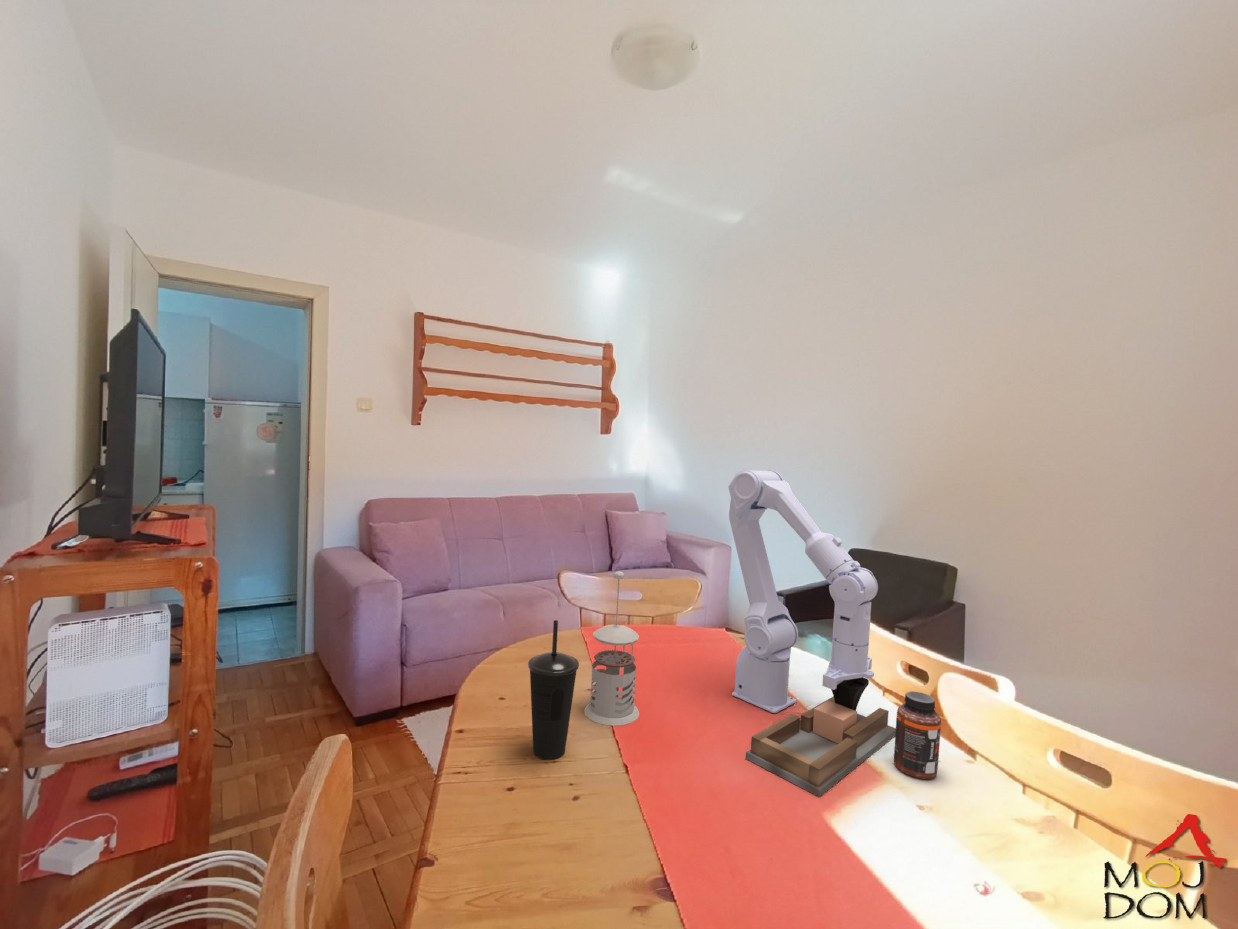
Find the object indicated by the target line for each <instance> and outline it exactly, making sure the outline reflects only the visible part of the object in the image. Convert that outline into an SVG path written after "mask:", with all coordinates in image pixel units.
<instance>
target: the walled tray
mask: <svg viewBox="0 0 1238 929" xmlns="http://www.w3.org/2000/svg"><path fill="white" fill-rule="evenodd" d="M828 700H829V701H831V702H834V703H835V700H834V696H833V695H832V696H831V697H830V698H828V699H826V700H824V701H822V702H821V703H819V704H818V705H816V706H814V707H812V708H810V709H808V710H807V711H805V712H803V713H802V714H801V715H800V716H797V715H795V714H793V713H791V714H789V715H787V716H786V717H784V718H782V719H781V720H779V721H777V722H775V723H773V724H772V725H770V726H768V727H766V728H764V729H763V730H761V731H759V732H757V733H756V734H754V735H751V740H750V741H751V742H750V749H749V750H747V751H746V752H745V759H746V760H747V761H750V762H751V763H753V764H755V765H756V766H759V767H761V768H763V769H764V770H766V771H768V772H771V773H772V774H775V775H776V776H778V777H780V778H782V779H784V780H785V781H788V782H790V783H791V784H793V785H796V786H797V787H799V788H801V789H803V790H805V791H807V792H809V793H811V794H812V795H814V796H816V797H817V798H820V797H822V796H823V795H824V794H825V793H827V792H828V791H829V790H830V789H832V787H834V786H835V785H836V784H838V783H839V782H840V781H841V780H843V779H844V778H845V777H846V776H847V775H848V774H850V773H851V772H852V771H853V770H855V769H856V768H858V767H859V766H860V765H861V764H862V763H864V762H865V761H867V759H868V758H870V757H872V755H874V754H875V753H876V752H877V751H878V750H880V749H881V748H883V747H884V746H885V745H886V744H888V743H889V742H890V741H891V740H892V739H893V738H895V733H896V727H894V726H891V725H888V724H889V710H887V709H884V708H881V707H879V708H877V709H876V710H875V711H873V712H871V713H870V714H869V715H867V716H865V715H863V714H860V713H857V722H856V724H855V725H854V726H852V727H851V728H849V729H848V730H847V731H845V732H844V733H843V741H842V742H840V743H839V744H838V743H836V742H834V741H831V740H829V739H827V738H824V737H822V736H820V735H818V734H815V733H813V718H814V708H816V707H818V706H820V705H821V704H823V703H825V702H826V701H828ZM858 765H859V766H858Z"/></svg>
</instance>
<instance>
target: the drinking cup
mask: <svg viewBox="0 0 1238 929" xmlns="http://www.w3.org/2000/svg"><path fill="white" fill-rule="evenodd" d="M552 626H553V627H552V628H553V629H552V645H551V648H552V649H551V651H550V652H545V653H541V654H538V655H535V656H533V657H532V658H530V659H529V661H528V663H527V666H528V669H529V678H530V679H529V681H530V702H531V703H530V704H531V725H532V726H531V727H532V730H531V731H532V752H533V755H534V756H535V757H536V758H538V759H541V760H545V761H546V760H548V761H551V760H556V759H559V758H562V757H563V756H564V755H565V753H566V749H567V748H566V746H567V739H568V734H569V726H570V719H571V713H572V712H571V711H572V704H573V698H574V690H575V684H576V677H577V676H576V675H577V671H578V670H579V667H580V662H579V660H578V659H577V658H575V657H574V656H572V655H569V654H566V653H563V652H560V651H559V652H558V651H557V650H558V649H557V648H558V646H557V645H558V631H559V630H558V629H559V627H558V626H559V620H557V619H556V620H555V619H554V620H553V625H552Z"/></svg>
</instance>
